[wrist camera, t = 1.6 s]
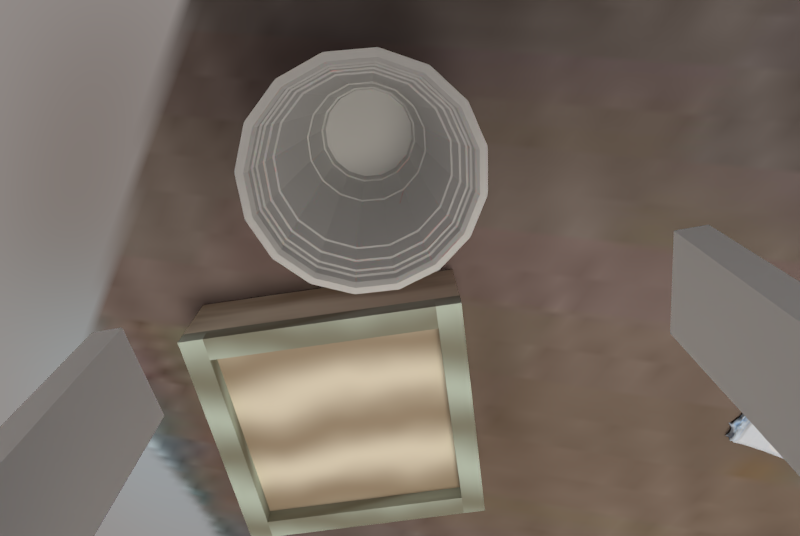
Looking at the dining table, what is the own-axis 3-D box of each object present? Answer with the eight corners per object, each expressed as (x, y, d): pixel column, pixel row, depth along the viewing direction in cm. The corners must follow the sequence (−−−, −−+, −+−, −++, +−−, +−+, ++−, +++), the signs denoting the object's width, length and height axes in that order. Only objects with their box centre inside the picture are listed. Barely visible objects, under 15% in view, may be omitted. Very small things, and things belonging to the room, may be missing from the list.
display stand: (203, 305, 38) (177, 342, 33) (452, 269, 37) (461, 302, 32) (266, 487, 45) (252, 539, 40) (474, 461, 44) (484, 510, 40)
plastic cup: (404, 244, 36) (412, 336, 25) (258, 168, 34) (195, 234, 23) (491, 100, 32) (544, 135, 21) (333, 3, 30) (301, -13, 19)
